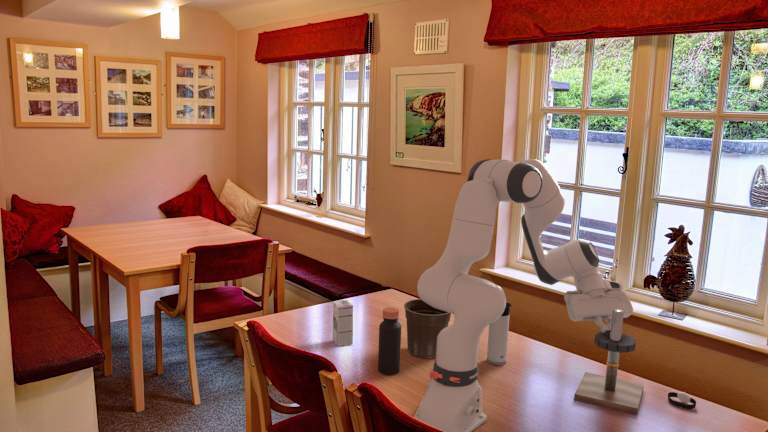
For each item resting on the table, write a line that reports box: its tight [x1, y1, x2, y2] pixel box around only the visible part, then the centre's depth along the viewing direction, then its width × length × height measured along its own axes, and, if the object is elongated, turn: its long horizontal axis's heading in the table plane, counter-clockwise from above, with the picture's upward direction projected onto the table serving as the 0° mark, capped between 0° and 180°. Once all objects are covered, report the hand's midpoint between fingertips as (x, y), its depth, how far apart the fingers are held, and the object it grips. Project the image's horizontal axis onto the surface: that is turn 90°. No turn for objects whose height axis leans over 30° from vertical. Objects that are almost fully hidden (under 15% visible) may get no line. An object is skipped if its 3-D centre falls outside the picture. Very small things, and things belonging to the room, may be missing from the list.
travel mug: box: [486, 302, 512, 366], centre depth 206 cm, size 6×7×20 cm
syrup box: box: [332, 299, 354, 347], centre depth 218 cm, size 6×6×14 cm
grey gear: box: [593, 331, 637, 354], centre depth 183 cm, size 11×11×2 cm
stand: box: [573, 371, 645, 416], centre depth 186 cm, size 17×17×2 cm
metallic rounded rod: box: [605, 309, 624, 391], centre depth 184 cm, size 3×3×24 cm
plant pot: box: [403, 298, 452, 359], centre depth 212 cm, size 16×16×16 cm
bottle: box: [377, 306, 402, 376], centre depth 196 cm, size 7×7×20 cm
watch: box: [667, 391, 697, 410], centre depth 182 cm, size 8×5×4 cm, turn 45°
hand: (608, 331), depth 186 cm, fingers closed
